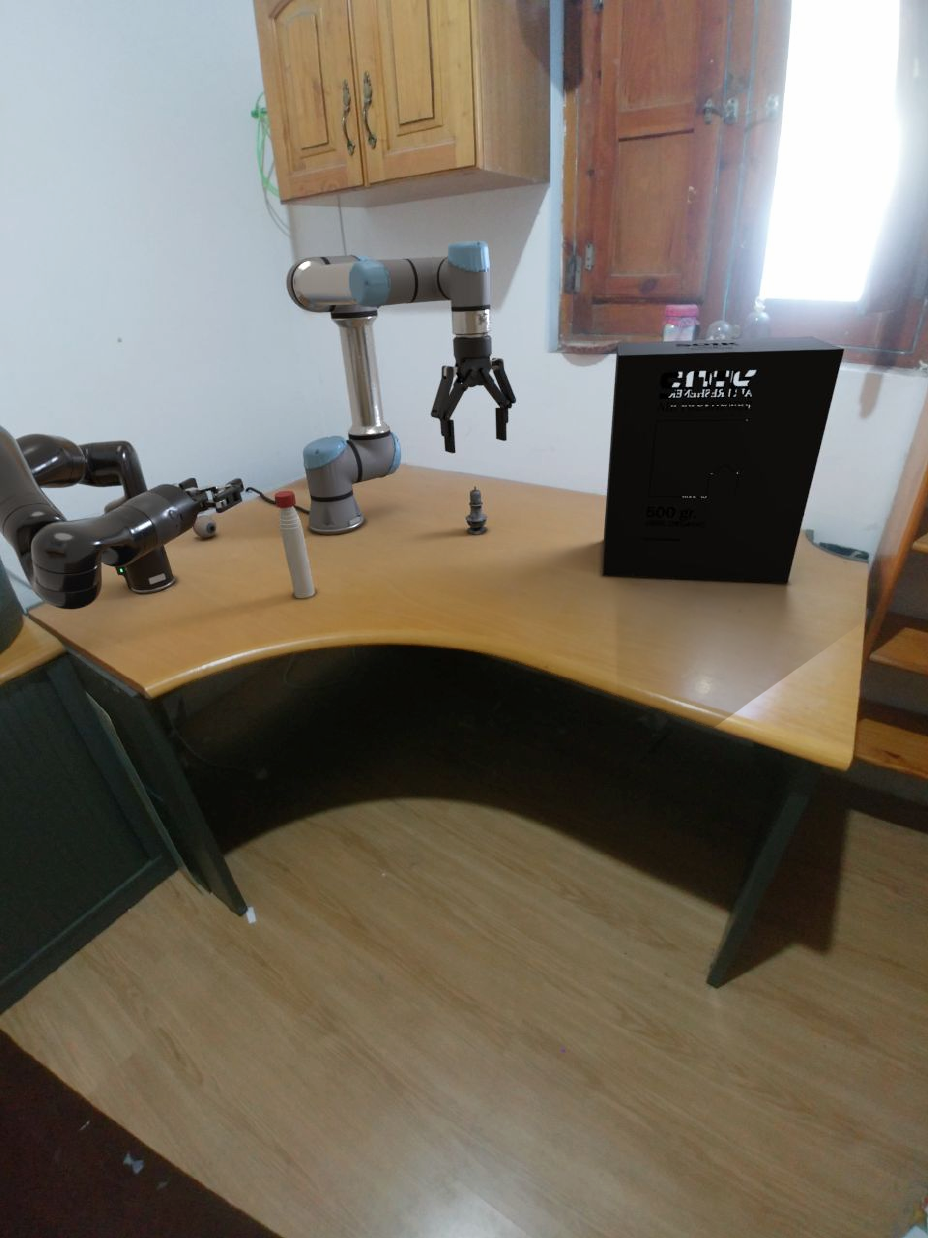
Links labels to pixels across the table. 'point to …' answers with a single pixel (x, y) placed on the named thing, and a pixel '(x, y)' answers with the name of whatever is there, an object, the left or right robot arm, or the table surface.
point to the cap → (285, 499)
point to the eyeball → (204, 526)
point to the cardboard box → (714, 456)
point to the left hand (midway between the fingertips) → (217, 483)
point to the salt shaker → (476, 514)
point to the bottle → (296, 553)
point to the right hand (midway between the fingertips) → (476, 445)
